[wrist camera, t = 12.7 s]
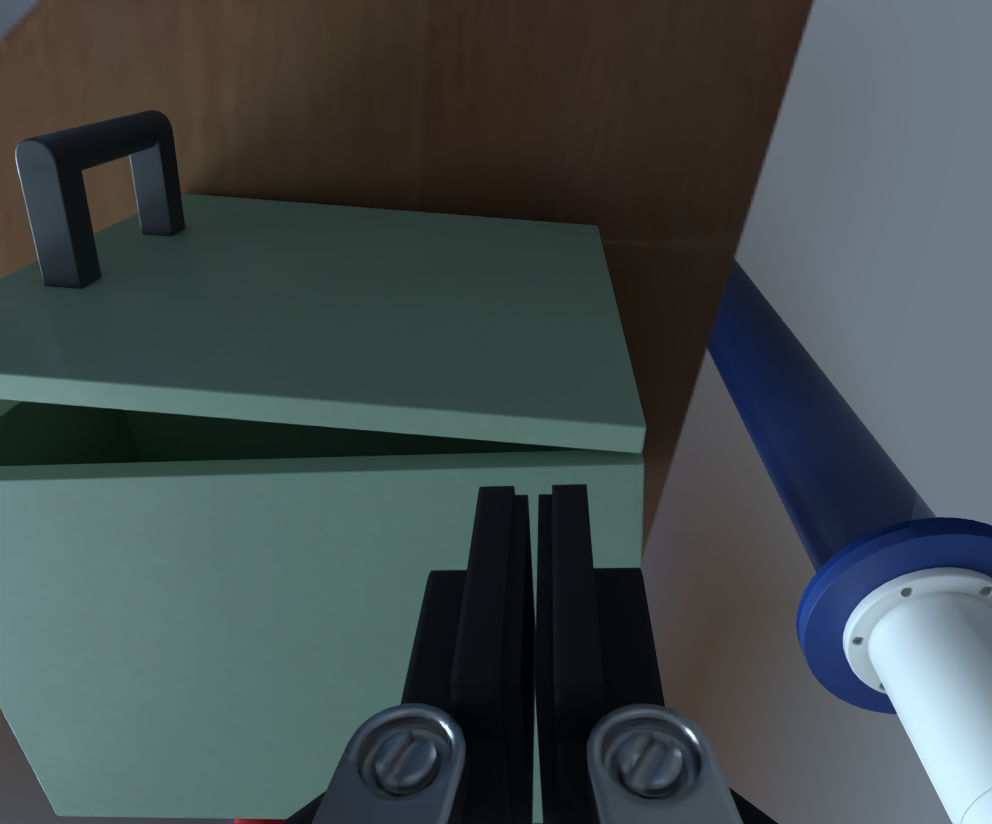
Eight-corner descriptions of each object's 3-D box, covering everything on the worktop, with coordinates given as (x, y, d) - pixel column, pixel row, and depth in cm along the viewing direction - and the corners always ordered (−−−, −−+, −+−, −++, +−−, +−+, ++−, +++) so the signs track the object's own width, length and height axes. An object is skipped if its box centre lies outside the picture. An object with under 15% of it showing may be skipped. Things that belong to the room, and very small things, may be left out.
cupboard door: (166, 91, 44) (-244, 170, 21) (610, 124, 43) (680, 242, 21) (181, 209, 47) (-161, 386, 24) (595, 241, 46) (642, 454, 24)
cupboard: (194, 264, 49) (-119, 483, 26) (596, 244, 47) (644, 463, 24) (254, 495, 57) (57, 816, 34) (598, 487, 55) (634, 825, 32)
